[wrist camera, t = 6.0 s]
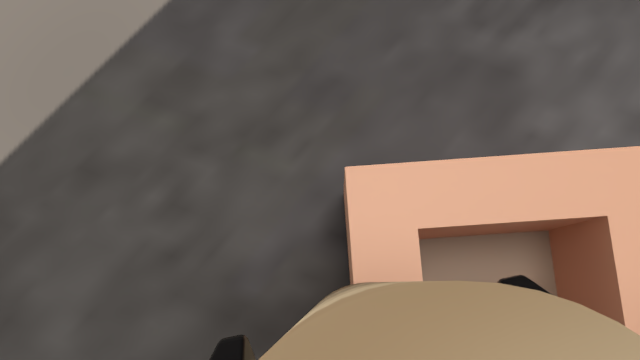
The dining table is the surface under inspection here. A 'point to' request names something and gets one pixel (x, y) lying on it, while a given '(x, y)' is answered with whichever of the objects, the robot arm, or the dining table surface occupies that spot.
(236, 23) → the dining table surface
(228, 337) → the robot arm
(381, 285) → the birch dowel
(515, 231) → the socket block
